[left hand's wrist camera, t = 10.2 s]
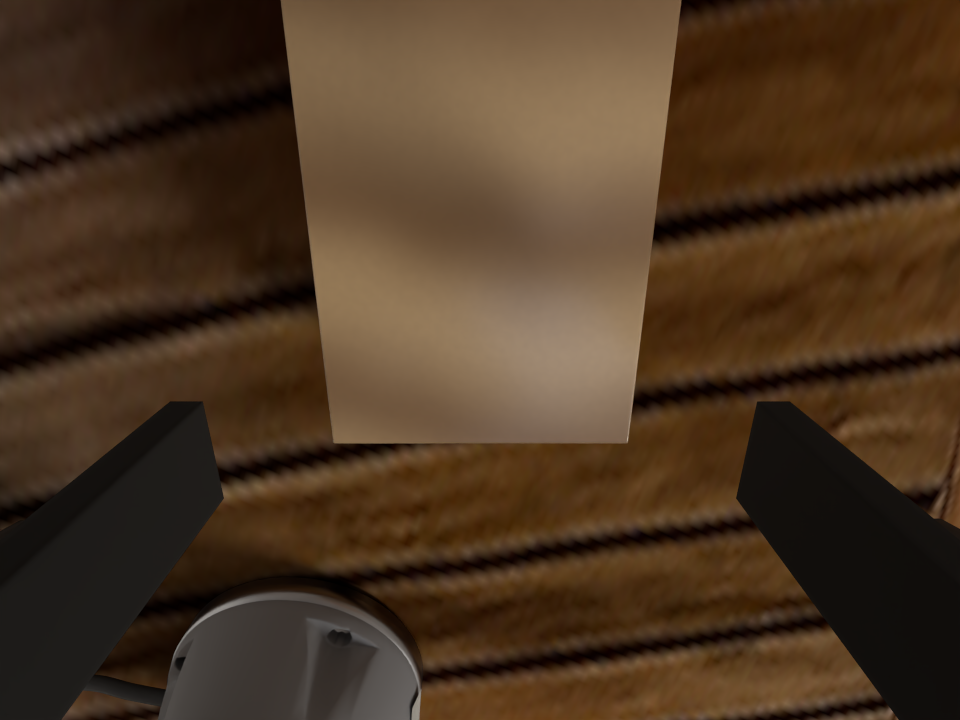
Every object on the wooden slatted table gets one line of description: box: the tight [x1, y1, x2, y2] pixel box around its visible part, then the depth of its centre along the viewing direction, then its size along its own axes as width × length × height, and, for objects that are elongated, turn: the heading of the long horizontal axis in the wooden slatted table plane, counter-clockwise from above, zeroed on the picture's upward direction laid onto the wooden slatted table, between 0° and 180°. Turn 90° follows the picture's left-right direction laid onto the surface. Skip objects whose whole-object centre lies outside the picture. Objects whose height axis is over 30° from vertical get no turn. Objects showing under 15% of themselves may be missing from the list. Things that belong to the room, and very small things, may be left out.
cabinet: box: [281, 0, 681, 443], centre depth 20 cm, size 16×11×8 cm, turn 0°
